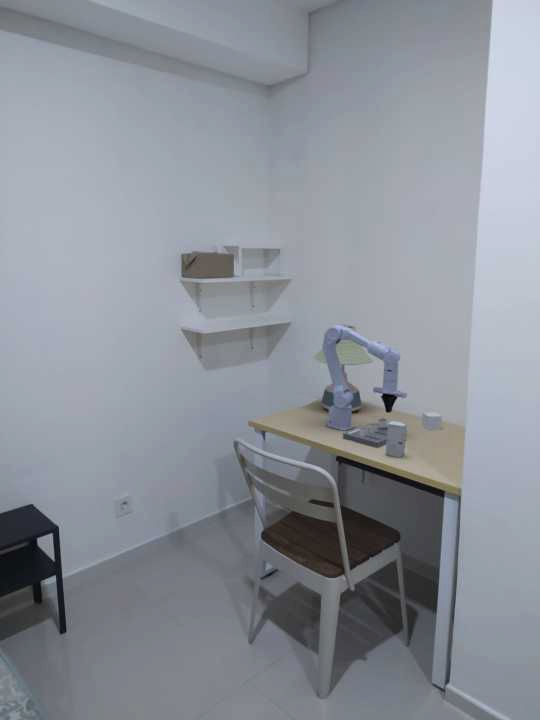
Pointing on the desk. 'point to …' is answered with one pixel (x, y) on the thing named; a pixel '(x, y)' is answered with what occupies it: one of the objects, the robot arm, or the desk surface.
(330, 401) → the desk lamp
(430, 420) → the grey cube
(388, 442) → the skincare box
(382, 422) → the block
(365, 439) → the panel
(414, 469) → the desk surface
